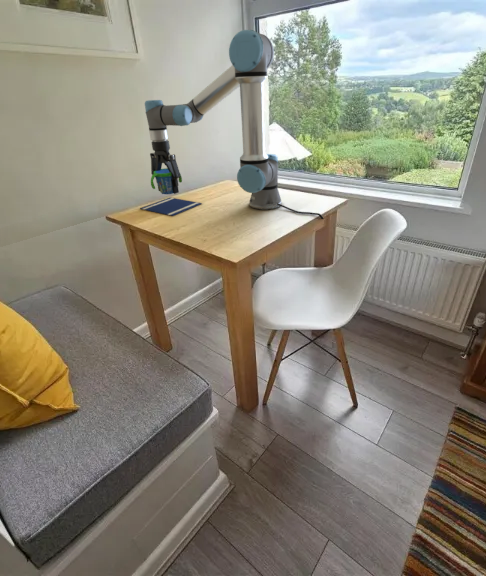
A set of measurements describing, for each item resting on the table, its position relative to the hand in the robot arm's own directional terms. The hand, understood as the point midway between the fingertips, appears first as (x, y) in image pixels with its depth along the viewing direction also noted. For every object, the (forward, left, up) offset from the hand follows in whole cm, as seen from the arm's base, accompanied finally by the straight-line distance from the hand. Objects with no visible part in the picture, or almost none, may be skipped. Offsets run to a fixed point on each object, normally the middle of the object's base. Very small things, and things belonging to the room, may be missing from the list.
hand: (168, 191), depth 154 cm
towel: (0, 0, -7) cm, 7 cm away
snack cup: (0, 0, -1) cm, 1 cm away
